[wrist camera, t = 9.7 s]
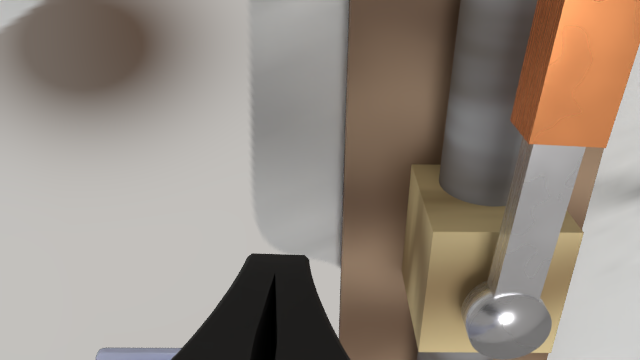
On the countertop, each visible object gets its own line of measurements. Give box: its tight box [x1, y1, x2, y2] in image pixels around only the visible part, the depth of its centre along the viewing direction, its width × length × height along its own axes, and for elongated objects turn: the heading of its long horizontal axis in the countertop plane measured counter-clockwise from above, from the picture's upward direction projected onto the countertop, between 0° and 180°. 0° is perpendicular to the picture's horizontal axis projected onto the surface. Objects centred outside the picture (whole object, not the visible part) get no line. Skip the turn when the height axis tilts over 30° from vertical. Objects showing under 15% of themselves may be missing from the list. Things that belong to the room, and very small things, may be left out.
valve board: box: [339, 0, 604, 360], centre depth 22 cm, size 24×10×6 cm, turn 0°
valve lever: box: [461, 0, 640, 360], centre depth 16 cm, size 13×3×2 cm, turn 177°
